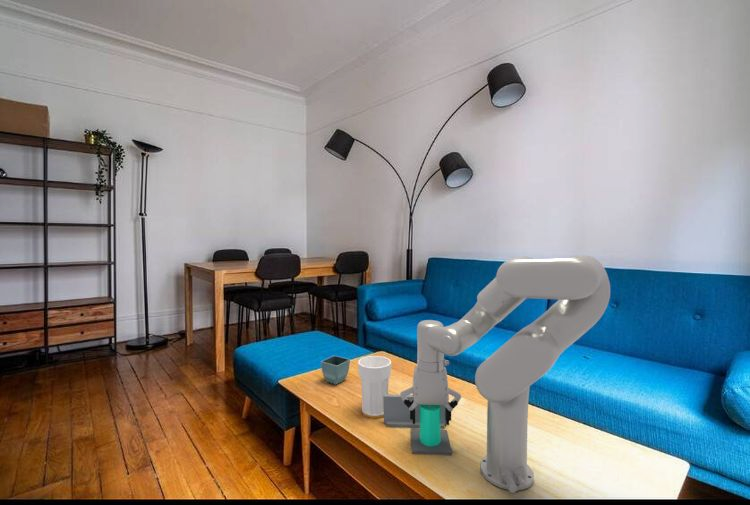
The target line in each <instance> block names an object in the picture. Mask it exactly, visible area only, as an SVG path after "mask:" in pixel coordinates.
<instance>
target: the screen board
mask: <svg viewBox="0 0 750 505" xmlns="http://www.w3.org/2000/svg"><path fill="white" fill-rule="evenodd" d="M406 397H407V399H408V400H409V401H411V400H412V399H413V394H410V395H408V396H406ZM383 408H384V416H383V425H386V428H406V429H407V428H410V429H420V404H418V405H417V406H416V407H415V424H413V421H412V420H410V410H409V408H408V407H407V406H406V405H405V404H404V401H403V400H402V398H401V396H400V394H395V393H393V394H392V393H391V394H389V393H388V394H384V396H383ZM444 425H447V424H446V420H445V406H444V405H441V428H443V429H442V430H445V426H444ZM447 426H448V425H447Z"/></svg>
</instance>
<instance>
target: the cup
mask: <svg viewBox="0 0 750 505" xmlns="http://www.w3.org/2000/svg"><path fill="white" fill-rule="evenodd" d="M357 368H358V369H357V371H358V374H357V375H358V377H359V378H360V381H361V382H360V383H361V403H362V404H361V406H362V407H361V414H362V415H363V416H365V417H366V418H370V419H378V418H379V419H380V418H384V408H383V396H384V394H389V380H390V379H389V378H390V377H391V374H392V361H391V359H390V358H388V357H386V356H383V355H382V356H381V355H369V356H365V357H364V356H363V357H362V358H360V359H358V361H357Z"/></svg>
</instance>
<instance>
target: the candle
mask: <svg viewBox="0 0 750 505" xmlns="http://www.w3.org/2000/svg"><path fill="white" fill-rule="evenodd" d="M419 429H420V442H421V443H422V444H424V445H427V446H436V445H439V443H440V442H441V430H442V429H441V405H420V428H419Z"/></svg>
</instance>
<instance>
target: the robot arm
mask: <svg viewBox="0 0 750 505" xmlns="http://www.w3.org/2000/svg"><path fill="white" fill-rule="evenodd" d="M608 275H609V274H608V273H607V271H606V268H605V267H604V265H603V264H602V263H601V262H600V261H599V260H598V259H596V258H595V257H594V256H593V257H592V256H590V255H585V254H578V255H577V254H576V255H573V256H570V257H560V258H536V259H535V258H533V257H529V256H519V257H515V258H511V259H508V260H506V261H504V262H503V263H502V264H501V265H500V266H499V267H498V268H497V272H496V275H495V277H494V278H493V280H491V281H490V282H489V283H488V284H487V285H486V286H485V287H484V288H483V289H482V290H481V291H479V293H478V294H477V296H476V300H477V301H476V303H475V304H474V306H473V307H472V308H471V309H470V310H469V311H468V312H467V313H466V314H465V315H464V316H462V318H461V319H459V320H458V321H456V322H453V323H452V324H449V325H446V326H444V324H443V323H442V322H441V321H439V320H433V319H426V320H425V319H424V320H421V321H420V322H418V323H417V326H416V327H417V328H416V334H417V335H416V337H417V338H416V340H417V342H416V345H417V346H416V348H417V350H416V351H417V354H416V355H417V357H416V359H417V360H416V363H417V365H416V366H415V367H414V370H413V376H412V386H410V387H409V388H407V389H405V390H403V391H401V392H400V394H399V395H400V396H401V398H402V400H403V401H404V404H405V405H406V406H407V407H408V408H409V410H410V420H412V421H413V424H415V407H416V406H417V405H418V404H420V405H444V406H445V420H446V424H447V426H450V421H451V422H452V412H453V411H454V410H453V409H455V407H458V404H459V402H460V401H461V398H462V395H461V394H460V393H459V392H458V391H455V390H454V389H453V388H450V387H449V380H448V373H447V367H446V366H449V365H450V361H449V360H447V359H445V355H446V356H451V357H452V356H453V357H455V356H458V355H459V354H461V353H462V352H464V351H465V350H467V349H468V348H470V347H471V346H473V345H475V344H476V343H477V342H478V341H479V340H481V339H482V337H483V336H485V335H486V334H487V333H489V331H490V330H492V329H493V328H494V327H495V326H496V325H497V324H498V323H501V322H502V320H504V319H505V318H506V317H508V315H509V314H511V313H512V312H513V311H514V310H515V309H516V308H517V307H518V306H520V305H521V304H522V303H523V302H524V301H525V300H527V299H537V300H538V299H540V300H541V299H542V300H557V301H556V302H555V303H553V304H552V305H551V306H550V307H549V308H548V309H547V310H546V311H545V312H544V313H542V314H541V315H540V316H539V317H538V318H537V319H535V320H534V321H533V322H531V323H530V324H528V325H526V326H525V327H524V326H523V328H521V329H520V330H519V331H517V332H516V333H515V334H514V335H513V336H512V337H511V338H509V339H508V340H507V341H506V342H505V343H503V344H502V345H501V346H500V347H499V348H497V350H495V352H493V353H492V354H491V355H489V357H487V358H486V359H485V360H484V361H482V362H481V363H480V364H479V365H478V367H477V369H476V371H475V375H474V383H475V386H476V387H475V388H476V389H477V391H478V393H479V394H480V395H481V396H482V397H483V398H484V399H485V400H487V402H486V404H487V405H486V407H487V408H486V410H487V411H486V455H485V456H484V457H483V458H481V461H480V465H479V469H480V472H481V474H482V475H483V477H484V479H486V480H487V481H488V482H489V483H491V484H492V485H493V486H494V485H495V486H496V487H497V488H501V489H505V490H507V491H509V492H510V493H513V494H514V493H516V492H518V491H524V490H525V489H526V490H527V489H528V488H530V487H531V486H532V485H533V483H534V476H535V475H534V472H533V470H532V468H531V467H530V466H529V465H528V420H529V419H528V418H529V400H530V399H529V396H530V388H531V387H530V386H532V385H533V384H534V383H536V382H538V380H539V379H541V378H542V377H543V376H545V375H546V373H548V372H549V371H550V370H551V369H552V368H553V367H554V365H555V363H556V362H557V360H558V359H559V357H560V355H562V353H564V352H565V350H567V349H569V347H570V346H572V345H573V344H574V343H575V342H577V341H578V340H579V339H580V338H581V337H582V336H584V335H585V334H586V333H587V332H588V331H589V330H590V329H592V328H593V327H594V326H595V325H596V324H597V323H598V321H599V320H601V318H602V316H603V315H604V314H605V312H606V309H607V307H608V305H609V302H610V299H611V284H610V280H609V279H610V278H609V276H608ZM408 395H413V399H412V400H411V401H409V400H408V399H407V397H406V396H408ZM449 395H450V396H452V397H453V399H452V400H451V401H449V399H450V398H449V397H450V396H449Z"/></svg>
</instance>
